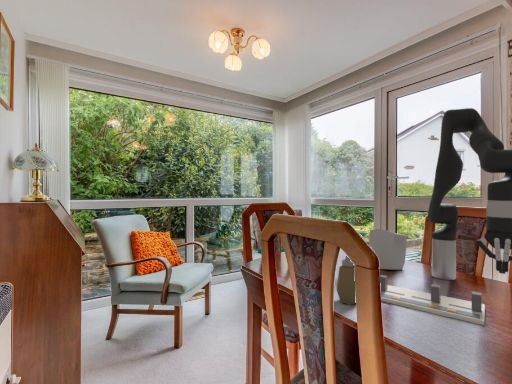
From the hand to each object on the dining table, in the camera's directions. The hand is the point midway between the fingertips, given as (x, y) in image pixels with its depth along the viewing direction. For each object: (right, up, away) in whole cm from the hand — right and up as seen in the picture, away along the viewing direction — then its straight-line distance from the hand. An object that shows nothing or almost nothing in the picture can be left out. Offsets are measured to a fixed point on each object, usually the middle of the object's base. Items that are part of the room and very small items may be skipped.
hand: (501, 272), depth 86 cm
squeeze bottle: (-42, -14, +14) cm, 46 cm away
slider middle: (-13, -13, +11) cm, 21 cm away
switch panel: (-15, -14, +13) cm, 24 cm away
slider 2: (-5, -13, +4) cm, 14 cm away
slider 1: (-26, -12, +22) cm, 36 cm away
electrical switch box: (-6, -14, +61) cm, 63 cm away
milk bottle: (-27, -14, +45) cm, 54 cm away
